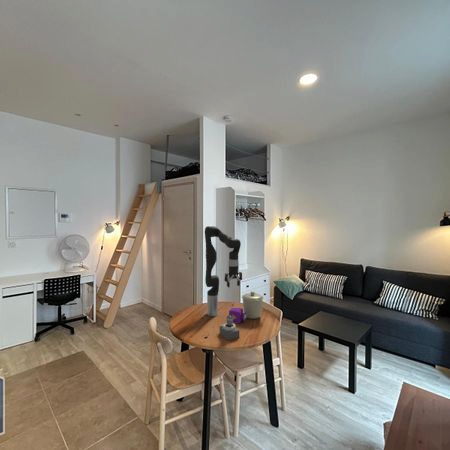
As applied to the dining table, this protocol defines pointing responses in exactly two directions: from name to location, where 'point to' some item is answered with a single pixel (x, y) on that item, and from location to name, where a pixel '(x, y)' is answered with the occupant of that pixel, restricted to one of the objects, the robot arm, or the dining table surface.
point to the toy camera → (237, 315)
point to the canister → (252, 305)
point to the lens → (229, 321)
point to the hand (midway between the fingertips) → (233, 286)
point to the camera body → (229, 332)
